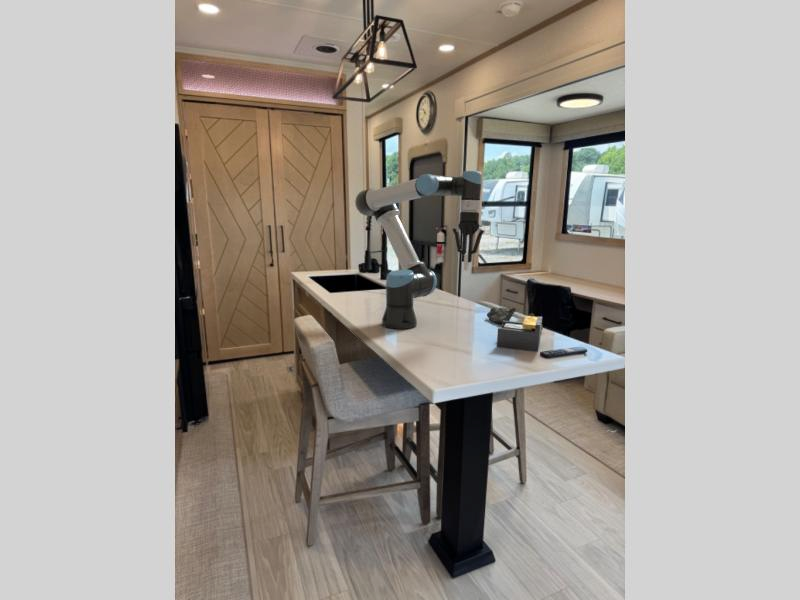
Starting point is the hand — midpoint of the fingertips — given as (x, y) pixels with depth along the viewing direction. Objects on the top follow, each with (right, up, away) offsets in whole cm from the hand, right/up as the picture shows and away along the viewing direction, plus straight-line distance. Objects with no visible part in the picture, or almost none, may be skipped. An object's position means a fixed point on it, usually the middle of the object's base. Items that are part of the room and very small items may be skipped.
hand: (466, 269), depth 180 cm
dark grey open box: (+18, -29, -14) cm, 37 cm away
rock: (+19, -22, +20) cm, 35 cm away
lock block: (+17, -29, -14) cm, 37 cm away
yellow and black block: (+27, -26, +4) cm, 37 cm away
